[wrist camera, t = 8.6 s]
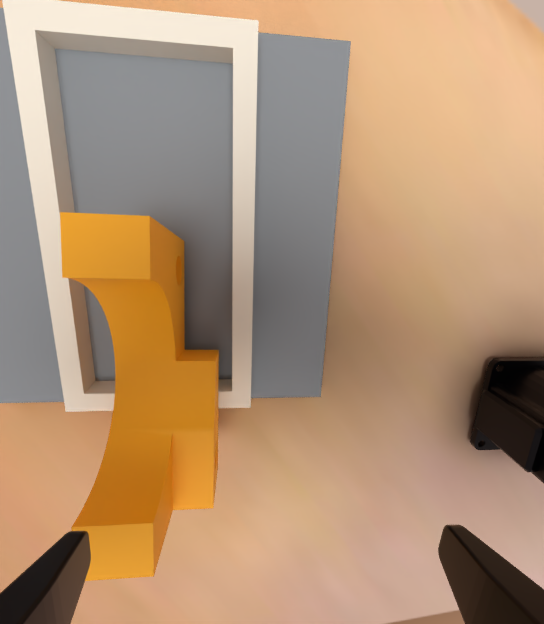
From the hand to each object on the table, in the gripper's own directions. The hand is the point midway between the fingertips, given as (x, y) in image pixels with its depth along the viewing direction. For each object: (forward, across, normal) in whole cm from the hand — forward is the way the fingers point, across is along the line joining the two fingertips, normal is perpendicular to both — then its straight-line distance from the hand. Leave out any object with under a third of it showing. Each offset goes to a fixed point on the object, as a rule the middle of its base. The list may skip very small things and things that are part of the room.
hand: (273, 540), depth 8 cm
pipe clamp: (+10, +4, -1) cm, 11 cm away
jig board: (+11, +5, -6) cm, 14 cm away
